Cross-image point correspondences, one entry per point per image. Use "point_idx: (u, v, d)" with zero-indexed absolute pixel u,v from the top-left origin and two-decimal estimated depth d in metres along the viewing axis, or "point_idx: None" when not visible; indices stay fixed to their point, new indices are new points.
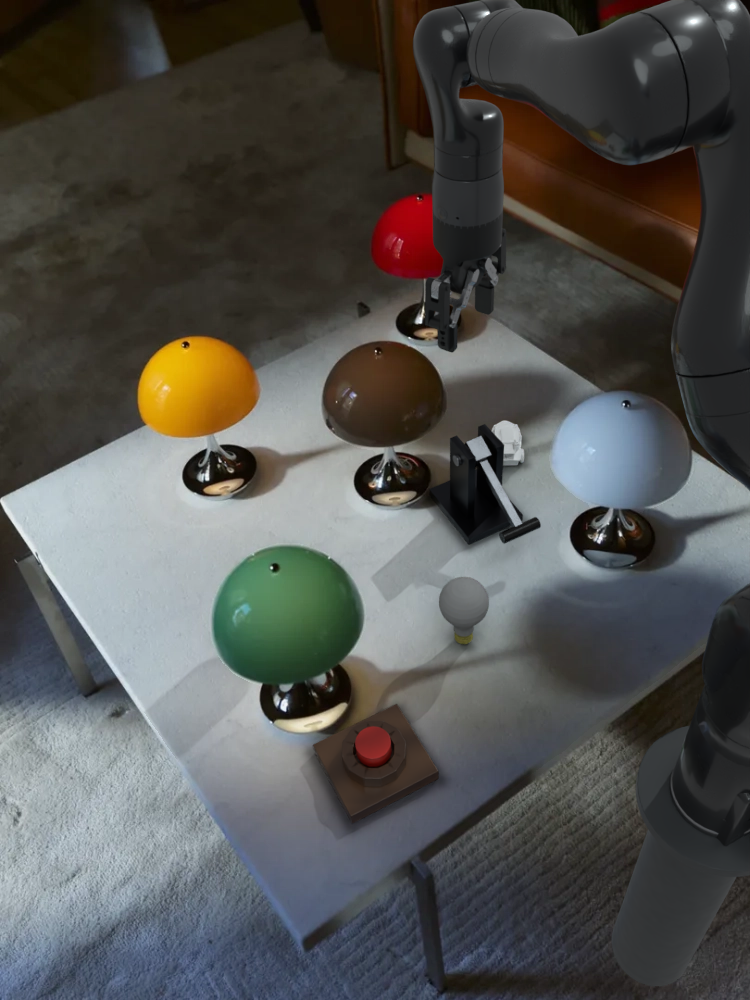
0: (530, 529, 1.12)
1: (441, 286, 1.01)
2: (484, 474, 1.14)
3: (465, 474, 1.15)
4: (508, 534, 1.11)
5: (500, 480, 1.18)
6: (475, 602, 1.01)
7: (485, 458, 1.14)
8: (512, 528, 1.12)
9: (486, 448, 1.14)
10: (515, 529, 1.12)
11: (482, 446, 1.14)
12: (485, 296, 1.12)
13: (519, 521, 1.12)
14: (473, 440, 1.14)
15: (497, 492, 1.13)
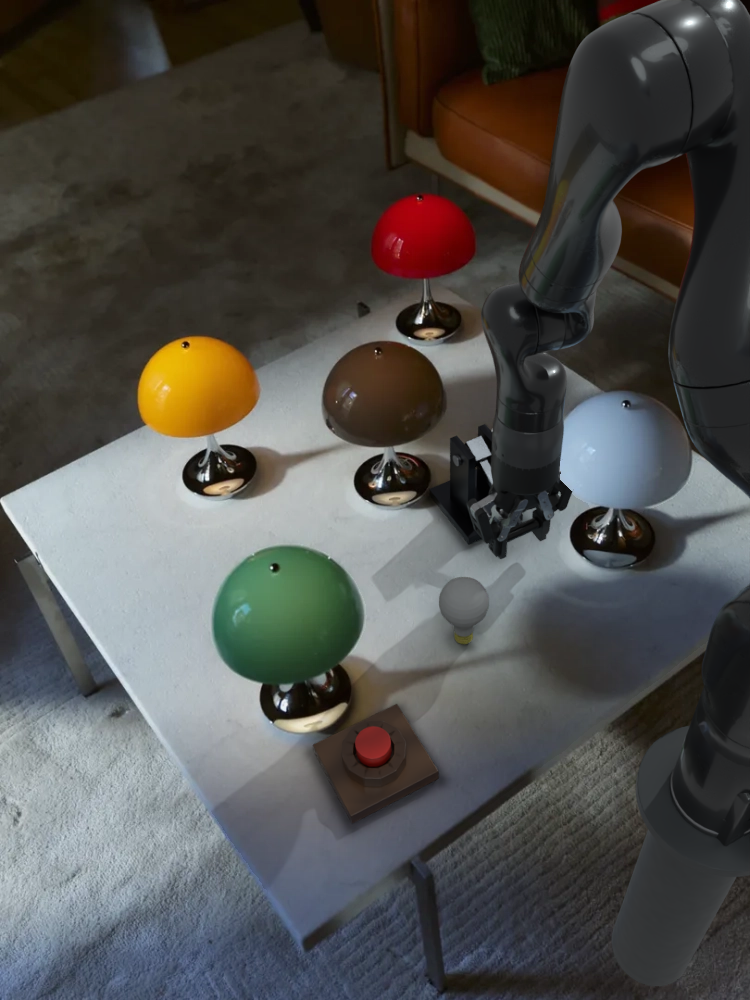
0: (530, 529, 1.12)
1: (476, 513, 1.05)
2: (484, 474, 1.14)
3: (465, 474, 1.15)
4: (508, 534, 1.11)
5: None
6: (475, 602, 1.01)
7: (485, 458, 1.14)
8: (512, 528, 1.12)
9: (486, 448, 1.14)
10: (515, 529, 1.12)
11: (482, 446, 1.14)
12: None
13: (519, 521, 1.12)
14: (473, 440, 1.14)
15: None
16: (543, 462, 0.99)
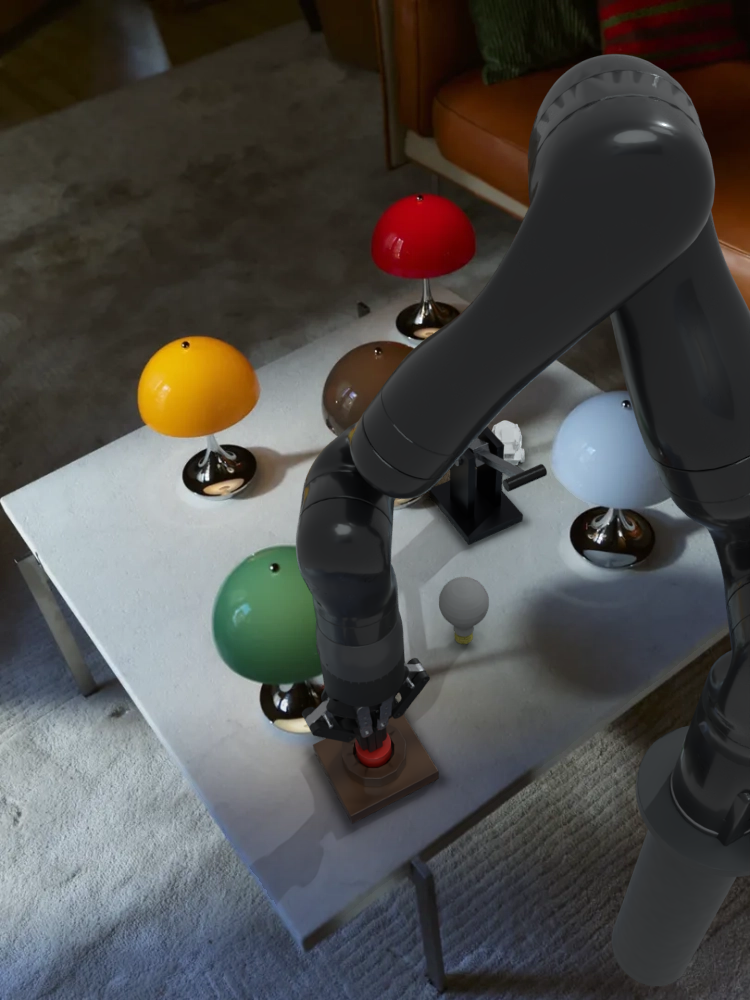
0: (534, 471, 1.05)
1: (310, 730, 0.86)
2: (484, 459, 1.13)
3: (465, 474, 1.15)
4: (509, 478, 1.05)
5: (500, 480, 1.18)
6: (475, 602, 1.01)
7: (482, 448, 1.14)
8: None
9: (482, 441, 1.15)
10: (517, 474, 1.05)
11: (478, 441, 1.15)
12: None
13: (521, 470, 1.06)
14: None
15: (497, 462, 1.10)
16: (375, 675, 0.80)
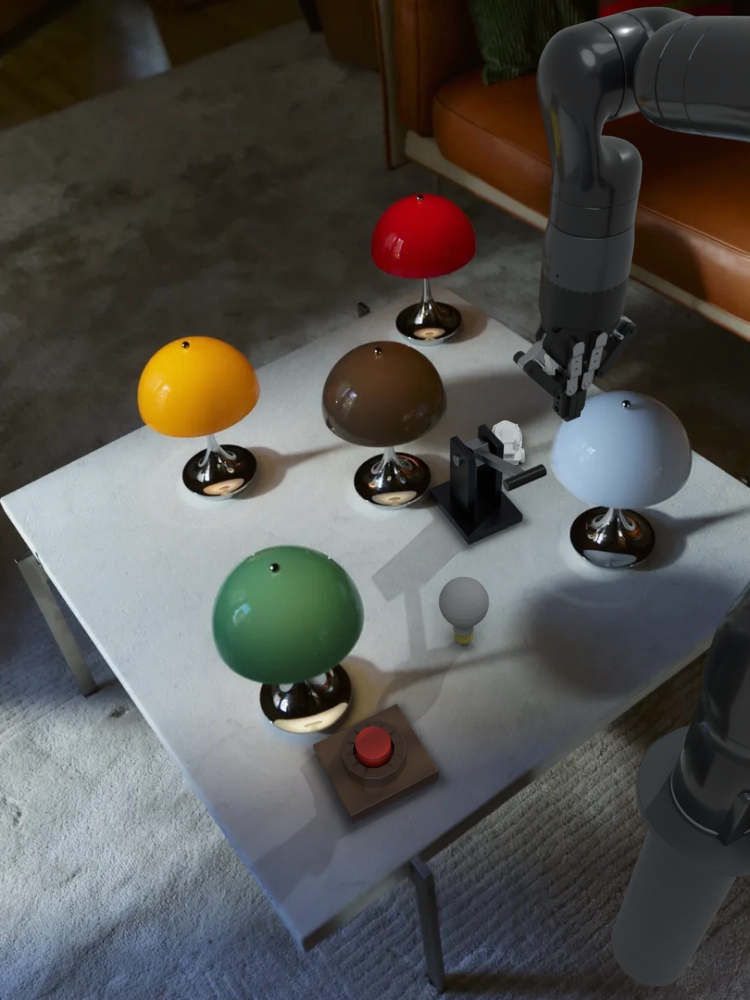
0: (534, 471, 1.05)
1: (524, 369, 0.85)
2: (484, 459, 1.13)
3: (465, 474, 1.15)
4: (509, 478, 1.05)
5: (500, 480, 1.18)
6: (475, 602, 1.01)
7: (482, 448, 1.14)
8: None
9: (482, 441, 1.15)
10: (517, 474, 1.05)
11: (478, 441, 1.15)
12: None
13: (521, 470, 1.06)
14: (469, 441, 1.16)
15: (497, 462, 1.10)
16: (608, 283, 0.79)
